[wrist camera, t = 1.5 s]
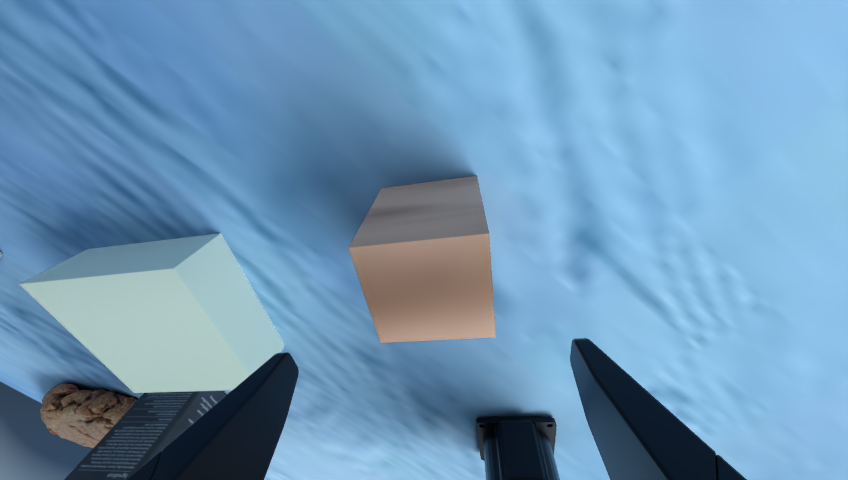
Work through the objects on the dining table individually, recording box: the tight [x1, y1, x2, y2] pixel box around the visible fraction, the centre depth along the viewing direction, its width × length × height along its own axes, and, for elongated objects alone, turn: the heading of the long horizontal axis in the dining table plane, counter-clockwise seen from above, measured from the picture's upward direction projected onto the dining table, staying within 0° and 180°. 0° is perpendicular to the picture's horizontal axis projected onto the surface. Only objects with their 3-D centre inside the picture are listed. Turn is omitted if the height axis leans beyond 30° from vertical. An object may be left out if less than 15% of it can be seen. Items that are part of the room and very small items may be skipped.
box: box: [65, 391, 226, 480], centre depth 24 cm, size 8×6×11 cm
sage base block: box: [19, 233, 285, 393], centre depth 20 cm, size 10×10×4 cm
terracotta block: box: [348, 176, 496, 343], centre depth 14 cm, size 5×5×6 cm
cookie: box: [40, 383, 137, 448], centre depth 30 cm, size 10×11×3 cm
